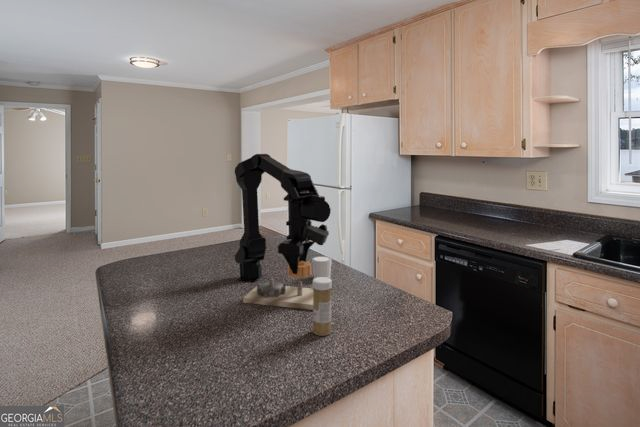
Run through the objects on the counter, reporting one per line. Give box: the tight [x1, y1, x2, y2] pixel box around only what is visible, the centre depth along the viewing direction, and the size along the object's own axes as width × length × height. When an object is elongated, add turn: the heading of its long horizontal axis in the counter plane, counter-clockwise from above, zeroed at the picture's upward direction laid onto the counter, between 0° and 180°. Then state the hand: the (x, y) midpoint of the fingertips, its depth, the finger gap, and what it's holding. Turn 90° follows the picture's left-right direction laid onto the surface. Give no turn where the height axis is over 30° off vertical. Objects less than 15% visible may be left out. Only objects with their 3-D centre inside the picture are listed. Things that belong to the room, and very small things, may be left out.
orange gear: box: [286, 260, 312, 279], centre depth 111 cm, size 7×7×3 cm
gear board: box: [242, 278, 313, 311], centre depth 113 cm, size 22×12×6 cm, turn 75°
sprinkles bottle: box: [312, 277, 333, 337], centre depth 91 cm, size 5×5×13 cm
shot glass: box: [311, 255, 333, 279], centre depth 130 cm, size 7×7×7 cm
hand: (299, 269), depth 111 cm, fingers closed on orange gear, 7 cm apart
